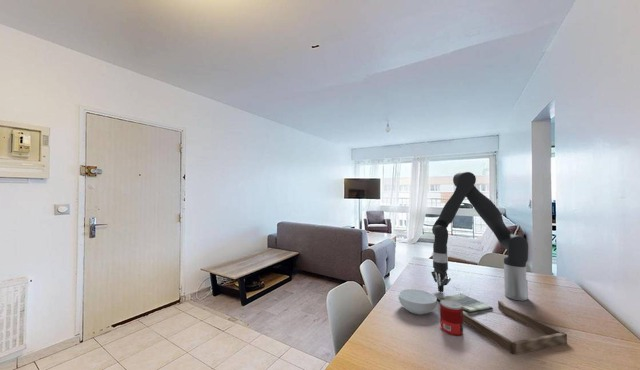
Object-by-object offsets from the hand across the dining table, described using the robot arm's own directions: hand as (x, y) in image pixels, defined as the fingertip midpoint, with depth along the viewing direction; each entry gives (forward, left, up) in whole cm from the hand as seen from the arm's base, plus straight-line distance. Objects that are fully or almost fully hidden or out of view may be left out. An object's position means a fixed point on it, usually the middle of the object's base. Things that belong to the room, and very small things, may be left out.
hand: (440, 291), depth 134 cm
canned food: (+23, +33, -1) cm, 40 cm away
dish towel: (0, +15, -1) cm, 15 cm away
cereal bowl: (+26, +15, -1) cm, 29 cm away
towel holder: (0, +36, 0) cm, 36 cm away
